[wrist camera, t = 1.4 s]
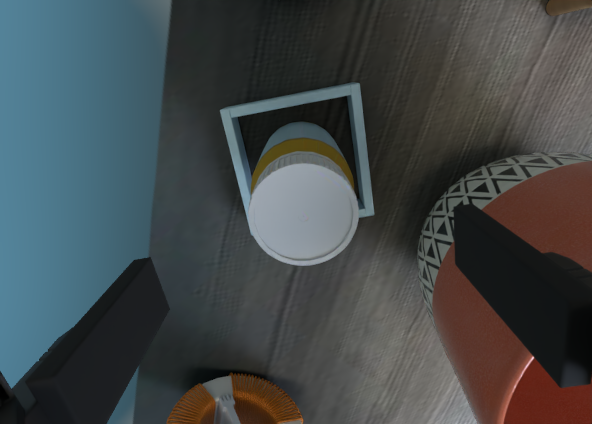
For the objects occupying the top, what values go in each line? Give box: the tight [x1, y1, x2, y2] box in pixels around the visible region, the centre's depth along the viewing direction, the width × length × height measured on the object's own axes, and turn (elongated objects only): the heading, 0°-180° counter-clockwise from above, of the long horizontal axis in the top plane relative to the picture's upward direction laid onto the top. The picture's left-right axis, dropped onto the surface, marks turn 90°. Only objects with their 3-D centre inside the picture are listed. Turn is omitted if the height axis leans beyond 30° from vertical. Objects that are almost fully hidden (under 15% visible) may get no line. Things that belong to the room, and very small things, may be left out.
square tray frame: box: [220, 82, 374, 235], centre depth 32 cm, size 12×12×3 cm
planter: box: [417, 152, 592, 424], centre depth 26 cm, size 20×20×21 cm
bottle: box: [248, 121, 359, 265], centre depth 26 cm, size 7×7×15 cm
